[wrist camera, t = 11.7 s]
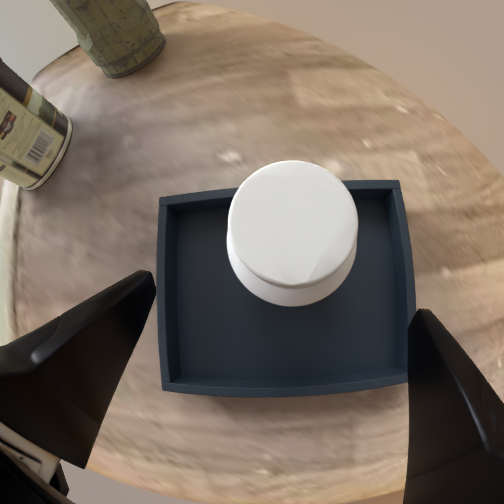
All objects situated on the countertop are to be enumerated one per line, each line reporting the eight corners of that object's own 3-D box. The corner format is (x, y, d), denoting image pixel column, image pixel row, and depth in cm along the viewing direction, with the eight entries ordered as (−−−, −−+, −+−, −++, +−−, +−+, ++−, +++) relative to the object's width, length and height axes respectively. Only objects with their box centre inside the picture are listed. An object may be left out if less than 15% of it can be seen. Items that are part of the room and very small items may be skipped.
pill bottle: (246, 302, 17) (198, 304, 8) (250, 219, 17) (211, 145, 9) (334, 304, 16) (380, 308, 7) (333, 220, 17) (369, 145, 8)
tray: (398, 370, 15) (415, 380, 12) (179, 379, 17) (162, 390, 14) (386, 195, 17) (399, 179, 15) (175, 210, 19) (159, 197, 17)
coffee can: (36, 127, 25) (-26, 80, 12) (83, 107, 24) (13, 39, 10) (12, 195, 24) (-65, 158, 10) (55, 186, 22) (-43, 129, 8)
